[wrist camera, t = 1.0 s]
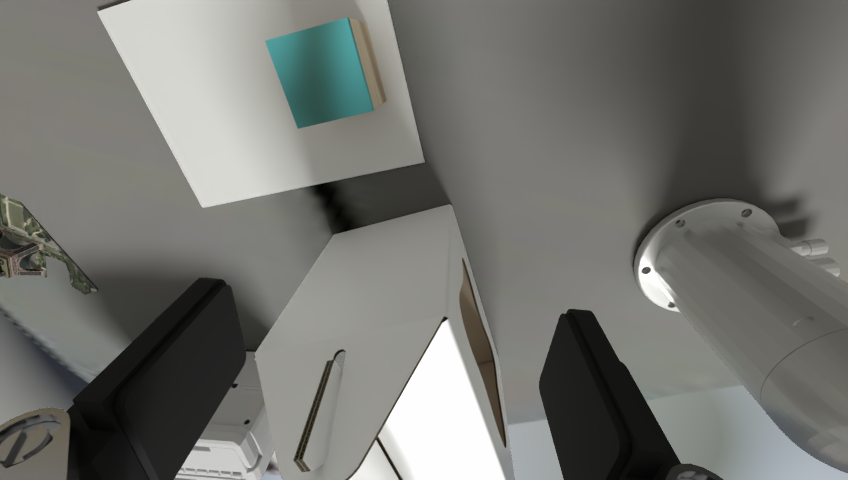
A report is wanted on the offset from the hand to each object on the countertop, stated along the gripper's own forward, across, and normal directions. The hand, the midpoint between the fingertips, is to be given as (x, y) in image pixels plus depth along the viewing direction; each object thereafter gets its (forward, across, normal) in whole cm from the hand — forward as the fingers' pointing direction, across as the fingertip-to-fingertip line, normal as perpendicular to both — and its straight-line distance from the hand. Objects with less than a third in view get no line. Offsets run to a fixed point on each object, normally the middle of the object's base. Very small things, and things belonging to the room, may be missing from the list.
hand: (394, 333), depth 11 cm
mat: (+26, +14, -3) cm, 30 cm away
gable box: (+26, -1, +19) cm, 32 cm away
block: (+26, +8, -5) cm, 27 cm away
